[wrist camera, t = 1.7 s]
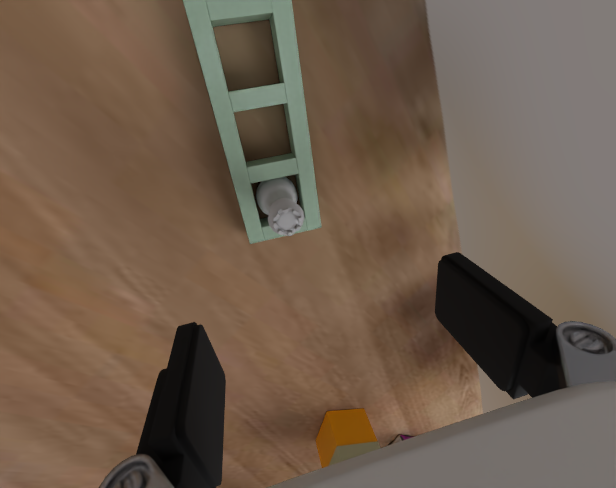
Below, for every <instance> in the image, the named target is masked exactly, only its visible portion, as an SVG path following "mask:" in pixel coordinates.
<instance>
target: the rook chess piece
mask: <svg viewBox="0 0 616 488" xmlns="http://www.w3.org/2000/svg"><path fill="white" fill-rule="evenodd" d="M297 199H298V196H297V190H296V188H295V186H294V185H293V183H292V181H290V180H289V179H287V178H286V177H280V178H275V179H270V180H265V181H262V182H261V183H260V185H259V186H258V188H257V192H256V200H257V204H258V205H259V207H260V209H261V210H262V211H263V213H265V214H267V215H269V216H268V223H269V226H270V228H271V229H272V230H273V231H274V232H276V233H277V234H279V235H288V236H291V235H293V233H295V232H296V231H299V230H300V228H301V226H302V225H303V221H304V212H303V210H302V209H301V207H300V206H299V205H298V204H296V203H297Z"/></svg>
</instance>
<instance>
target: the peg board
mask: <svg viewBox="0 0 616 488" xmlns="http://www.w3.org/2000/svg"><path fill="white" fill-rule="evenodd" d="M183 3H184V6H185V10H186V14H187V17H188V21H189V25H190V28H191V32H192V35H193V39H194V43H195V46H196V50H197V54H198V57H199V61H200V64H201V68H202V72H203V75H204V79H205V83H206V86H207V90H208V94H209V97H210V101H211V104H212V108H213V112H214V115H215V119H216V123H217V126H218V130H219V133H220V137H221V141H222V144H223V148H224V152H225V155H226V159H227V162H228V166H229V170H230V173H231V177H232V181H233V184H234V188H235V191H236V195H237V199H238V202H239V206H240V210H241V213H242V217H243V220H244V224H245V228H246V231H247V235H248V239H249V242H250V244H252V243H256V242H261V241H264V240H269V239H274V238H278V237H282V236H286V235H279V234H277V233H276V232H274V231H273V230H272V229H271V228H270V226H269V223H268V217H266V218H262V219H259V214H258V210H257V206H256V202H255V198H254V194H253V190H252V186H251V183H256V182H260V181H265V180H270V179H275V178H280V177H285V176H290V175H294V174H295V177H296V183H297V189H298V195H299V201H300V207H301V209H302V210H303V212H304V221H303V225H302V226H301V228H300V230H299V231H296V232H295V233H299V232H304V231H307V230H313V229H317V228H321V220H320V212H319V205H318V197H317V190H316V182H315V175H314V167H313V159H312V152H311V144H310V137H309V129H308V122H307V114H306V107H305V99H304V91H303V84H302V76H301V69H300V61H299V54H298V46H297V38H296V31H295V23H294V16H293V8H292V1H291V0H183ZM268 19H269V20H270V26H271V32H272V38H273V44H274V50H275V56H276V62H277V68H278V74H279V80H280V83H278V84H272V85H266V86H260V87H254V88H248V89H241V90H235V91H229V92H228V88H227V84H226V80H225V76H224V72H223V68H222V63H221V59H220V55H219V51H218V47H217V43H216V39H215V35H214V31H213V27H216V26H223V25H231V24H238V23H246V22H253V21H261V20H268ZM212 26H213V27H212ZM279 104H284V110H285V116H286V122H287V128H288V135H289V141H290V147H291V153H289V154H284V155H279V156H274V157H269V158H263V159H258V160H253V161H248V162H246V161H245V157H244V153H243V149H242V145H241V141H240V137H239V133H238V129H237V125H236V121H235V117H234V112H238V111H244V110H250V109H256V108H261V107H267V106H273V105H279ZM295 233H293V234H295Z"/></svg>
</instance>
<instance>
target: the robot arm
mask: <svg viewBox="0 0 616 488" xmlns="http://www.w3.org/2000/svg"><path fill="white" fill-rule="evenodd" d="M435 314H436V317H437V319H438V320H439V321H440V322H441V324H442V325H443V326H444V327H445V328H446V329H447V330H448V331H449V333H450V334H451V335H452V336H453V337H454V338H455V339H456V340H457V342H458V343H459V344H460V345H461V346H462V347H463V348H464V349H465V351H466V352H467V353H468V354H469V355H470V356H471V357H472V359H473V360H474V361H475V362H476V363H477V364H478V365H479V366H480V368H481V369H482V370H483V371H484V372H485V373H486V374H487V375H488V377H489V378H490V379H491V380H492V381H493V382H494V383H495V384H496V386H497V387H498V388H500V389H501V390H502V391H506V392H507V393H508V394H509V395H510V396H511V397H512V398H513V399H516V398H519V397H522V396H525V395H527V394H529V395H530V396H531V397H532V398H530V399H527V400H524V401H521V402H517V403H514V404H511V405H508V406H506V407H502V408H499V409H496V410H493V411H490V412H487V413H484V414H481V415H478V416H475V417H472V418H469V419H466V420H463V421H460V422H457V423H454V424H451V425H448V426H445V427H442V428H439V429H436V430H433V431H430V432H427V433H424V434H421V435H418V436H415V437H412V438H409V439H406V440H403V441H400V442H397V443H394V444H391V445H388V446H385V447H382V448H379V449H377V450H374V451H371V452H368V453H365V454H362V455H359V456H356V457H353V458H350V459H347V460H344V461H341V462H338V463H336V464H333V465H330V466H327V467H324V468H321V469H318V470H315V471H312V472H309V473H306V474H304V475H301V476H298V477H295V478H292V479H289V480H286V481H283V482H281V483H278V484H275V485H272V486H270V487H267V488H616V339H615V338H614V337H613V336H612V335H610V334H609V333H607V332H606V331H604V330H603V329H601V328H598V327H596V326H593V325H591V324H587V323H583V322H575V321H570V322H564V323H561V324H559V325H558V327H557V326H556V325H555V324H553V323H552V320H553V319H551V318H550V317H549V316H547V315H545V314H544V313H543V312H542V311H540V310H539V309H537V308H536V307H534V306H533V305H532V304H530V303H529V302H528V301H526V300H525V299H523V298H522V297H521V296H519V295H518V294H516V293H515V292H514V291H512V290H511V289H509V288H508V287H507V286H505V285H504V284H502V283H501V282H500V281H498V280H497V279H495V278H494V277H493V276H491V275H490V274H488V273H487V272H485V271H484V270H483V269H482V268H480V267H479V266H477V265H476V264H475V263H473V262H472V261H470V260H469V259H468V258H466V257H464V256H463V255H462V254H461V253H459V252H456V253H452V254H448V255H445V256H443V257H442V259H441V260H440V261H439V263H438V275H437V289H436V303H435ZM225 385H226V380H225V374H224V371H223V369H222V367H221V365H220V362H219V360H218V358H217V356H216V354H215V351H214V349H213V347H212V345H211V343H210V340H209V338H208V336H207V334H206V332H205V330H204V327H203V326H202V325H197V323H195V322H193V323H189V324H185V325H181V326H179V327H178V328H177V331H176V335H175V339H174V343H173V347H172V351H171V355H170V359H169V362H168V366H167V369H163V370H161V371H160V373H159V375H158V378H157V382H156V385H155V389H154V392H153V396H152V400H151V403H150V407H149V410H148V414H147V417H146V421H145V425H144V428H143V432H142V435H141V439H140V442H139V446H138V450H137V453H136V455H133V456H131V457H129V458H127V459H125V460H123V461H122V462H121V463H119V464H118V465H117V466H115V467H114V468H113V469H112V470H111V471H110V473H109V474H108V475H107V476H106V477H105V479H104V480H103V482H102V483H101V485H100V486H99V488H216V486H219V485H220V484H221V481H222V460H223V435H224V410H225Z"/></svg>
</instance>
